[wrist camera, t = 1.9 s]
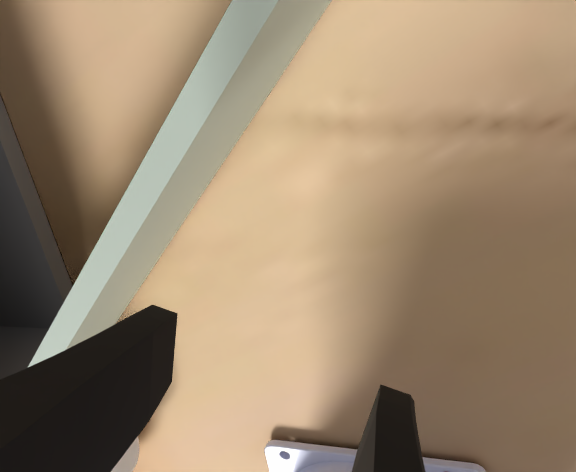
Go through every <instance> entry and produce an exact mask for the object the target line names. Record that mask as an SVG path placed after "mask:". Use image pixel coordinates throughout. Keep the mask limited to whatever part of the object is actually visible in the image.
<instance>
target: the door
mask: <svg viewBox="0 0 576 472" xmlns="http://www.w3.org/2000/svg"><path fill="white" fill-rule="evenodd" d="M331 1H332V0H232V1H231V3H230V5H229V7H228V9H227V10H226V12H225V14H224V16H223V18H222V19H221V21H220V23H219V25H218V27H217V28H216V30H215V32H214V34H213V35H212V37H211V39H210V41H209V43H208V44H207V46H206V48H205V50H204V52H203V53H202V55H201V57H200V59H199V61H198V62H197V64H196V66H195V68H194V70H193V71H192V73H191V75H190V77H189V79H188V80H187V82H186V84H185V86H184V88H183V89H182V91H181V93H180V95H179V97H178V98H177V100H176V102H175V104H174V106H173V107H172V109H171V111H170V113H169V115H168V116H167V118H166V120H165V122H164V123H163V125H162V127H161V129H160V131H159V132H158V134H157V136H156V138H155V140H154V141H153V143H152V145H151V147H150V149H149V150H148V152H147V154H146V156H145V158H144V159H143V161H142V163H141V165H140V167H139V168H138V170H137V172H136V174H135V176H134V177H133V179H132V181H131V183H130V185H129V186H128V188H127V190H126V192H125V194H124V195H123V197H122V199H121V201H120V203H119V204H118V206H117V208H116V210H115V211H114V213H113V215H112V217H111V219H110V220H109V222H108V224H107V226H106V228H105V229H104V231H103V233H102V235H101V237H100V238H99V240H98V242H97V244H96V246H95V247H94V249H93V251H92V253H91V255H90V256H89V258H88V260H87V262H86V264H85V265H84V267H83V269H82V271H81V273H80V274H79V276H78V278H77V280H76V282H75V283H74V285H73V287H72V289H71V291H70V292H69V294H68V296H67V298H66V299H65V301H64V303H63V305H62V307H61V308H60V310H59V312H58V314H57V316H56V317H55V319H54V321H53V323H52V325H51V326H50V328H49V330H48V332H47V334H46V335H45V337H44V339H43V341H42V343H41V344H40V346H39V348H38V350H37V352H36V353H35V355H34V357H33V359H32V361H31V362H30V364H29V366H28V367H30V366H32V365H34V364H37V363H39V362H41V361H43V360H45V359H48V358H50V357H52V356H54V355H56V354H58V353H60V352H62V351H64V350H66V349H68V348H70V347H72V346H74V345H76V344H78V343H80V342H82V341H84V340H86V339H88V338H90V337H92V336H94V335H96V334H98V333H100V332H101V331H103V330H105V329H107V328H109V327H111V326H113V325H115V324H116V322H117V321H118V319H119V318H120V316H121V315H122V313H123V312H124V310H125V309H126V307H127V306H128V304H129V303H130V301H131V300H132V298H133V297H134V296H135V294H136V293H137V291H138V290H139V288H140V287H141V285H142V284H143V282H144V281H145V279H146V278H147V276H148V275H149V273H150V272H151V270H152V269H153V267H154V266H155V264H156V263H157V261H158V260H159V258H160V257H161V255H162V254H163V252H164V251H165V249H166V248H167V246H168V245H169V243H170V242H171V240H172V239H173V237H174V236H175V234H176V233H177V231H178V230H179V228H180V227H181V225H182V224H183V222H184V221H185V219H186V218H187V216H188V215H189V213H190V212H191V210H192V209H193V207H194V206H195V204H196V203H197V201H198V200H199V198H200V197H201V195H202V194H203V192H204V191H205V189H206V188H207V186H208V185H209V183H210V182H211V180H212V179H213V177H214V176H215V174H216V173H217V171H218V170H219V168H220V167H221V165H222V164H223V162H224V161H225V159H226V158H227V156H228V155H229V153H230V152H231V150H232V149H233V147H234V146H235V144H236V143H237V141H238V140H239V138H240V137H241V135H242V134H243V132H244V131H245V129H246V128H247V126H248V125H249V123H250V122H251V120H252V119H253V117H254V116H255V114H256V113H257V111H258V110H259V108H260V107H261V105H262V104H263V102H264V101H265V99H266V98H267V97H268V95H269V94H270V92H271V91H272V89H273V88H274V86H275V85H276V83H277V82H278V80H279V79H280V77H281V76H282V74H283V73H284V71H285V70H286V68H287V67H288V65H289V64H290V62H291V61H292V59H293V58H294V56H295V55H296V53H297V52H298V50H299V49H300V47H301V46H302V44H303V43H304V41H305V40H306V38H307V37H308V35H309V34H310V32H311V31H312V29H313V28H314V26H315V25H316V23H317V22H318V20H319V19H320V17H321V16H322V14H323V13H324V11H325V10H326V8H327V7H328V5H329V4H330V2H331Z"/></svg>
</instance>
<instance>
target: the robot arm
mask: <svg viewBox="0 0 576 472" xmlns="http://www.w3.org/2000/svg"><path fill="white" fill-rule="evenodd" d="M176 324H177V313H175V312H172V311H169V310H166V309H163V308H160V307H157V306H155V305H151V306H149V307H147V308H145V309H143V310H141V311H139V312H137V313H135V314H133V315H132V316H130V317H128V318H126V319H124V320H122V321H120V322H118V323H117V324H115V325H113V326H111V327H109V328H107V329H105V330H103V331H101V332H100V333H98V334H96V335H94V336H92V337H90V338H88V339H86V340H84V341H82V342H80V343H78V344H76V345H74V346H72V347H70V348H68V349H66V350H64V351H62V352H60V353H58V354H56V355H54V356H52V357H50V358H48V359H45V360H43V361H41V362H39V363H37V364H34V365H32V366H30V367H28V368H26V369H24V370H21V371H19V372H17V373H15V374H12V375H10V376H8V377H5V378H3V379H0V472H111V471H112V470H113V468H114V467H115V466H116V464H117V463H118V462H119V460H120V459H121V458H122V456H123V455H124V454H125V452H126V451H127V450H128V448H129V447H130V446H131V444H132V443H133V442H134V440H135V439H136V438H137V436H138V435H139V434H140V432H141V431H142V430H143V428H144V427H145V426H146V424H147V423H148V422H149V420H150V418H151V417H152V415H153V413H154V412H155V410H156V408H157V407H158V405H159V403H160V402H161V400H162V398H163V396H164V394H165V393H166V391H167V389H168V387H169V386H170V384H171V382H172V373H173V361H174V348H175V336H176ZM285 451H286V452H285ZM265 455H266V459H267V463H268V467H269V472H444V471H448V472H486V471H485V469H484V468H483V467H482V466H480V465H478V464H475V463H468V462H459V461H451V460H442V459H434V458H426V457H422V453H421V448H420V442H419V437H418V431H417V424H416V417H415V407H414V400H413V398H412V397H411V395H409V394H406V393H403V392H400V391H397V390H395V389H392V388H389V387H386V386H383V385H380V388H379V391H378V394H377V396H376V399H375V402H374V405H373V408H372V410H371V413H370V416H369V419H368V422H367V425H366V427H365V430H364V433H363V436H362V439H361V441H360V444H359V447H358V449H349V448H341V447H332V446H324V445H315V444H307V443H299V442H290V441H282V440H270V441H268V443H267V444H266V447H265Z"/></svg>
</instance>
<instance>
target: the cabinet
mask: <svg viewBox="0 0 576 472" xmlns="http://www.w3.org/2000/svg"><path fill="white" fill-rule="evenodd" d="M72 287H73V286H72V283H71V281H70V278H69V275H68V273H67V270H66V267H65V265H64V262H63V259H62V257H61V254H60V251H59V249H58V246H57V244H56V241H55V238H54V236H53V233H52V230H51V228H50V225H49V222H48V220H47V217H46V214H45V212H44V209H43V206H42V204H41V201H40V199H39V196H38V193H37V191H36V188H35V185H34V183H33V180H32V177H31V175H30V172H29V169H28V167H27V164H26V162H25V159H24V156H23V154H22V151H21V148H20V146H19V143H18V140H17V138H16V135H15V132H14V130H13V127H12V125H11V122H10V119H9V117H8V114H7V111H6V109H5V106H4V103H3V101H2V98H1V95H0V379H3V378H5V377H8V376H10V375H12V374H15V373H17V372H19V371H21V370H24V369H26V368H28V366H29V364H30V362H31V361H32V359H33V357H34V355H35V353H36V352H37V350H38V348H39V346H40V344H41V343H42V341H43V339H44V337H45V335H46V334H47V332H48V330H49V328H50V326H51V325H52V323H53V321H54V319H55V317H56V316H57V314H58V312H59V310H60V308H61V307H62V305H63V303H64V301H65V299H66V298H67V296H68V294H69V292H70V291H71V289H72Z"/></svg>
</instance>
